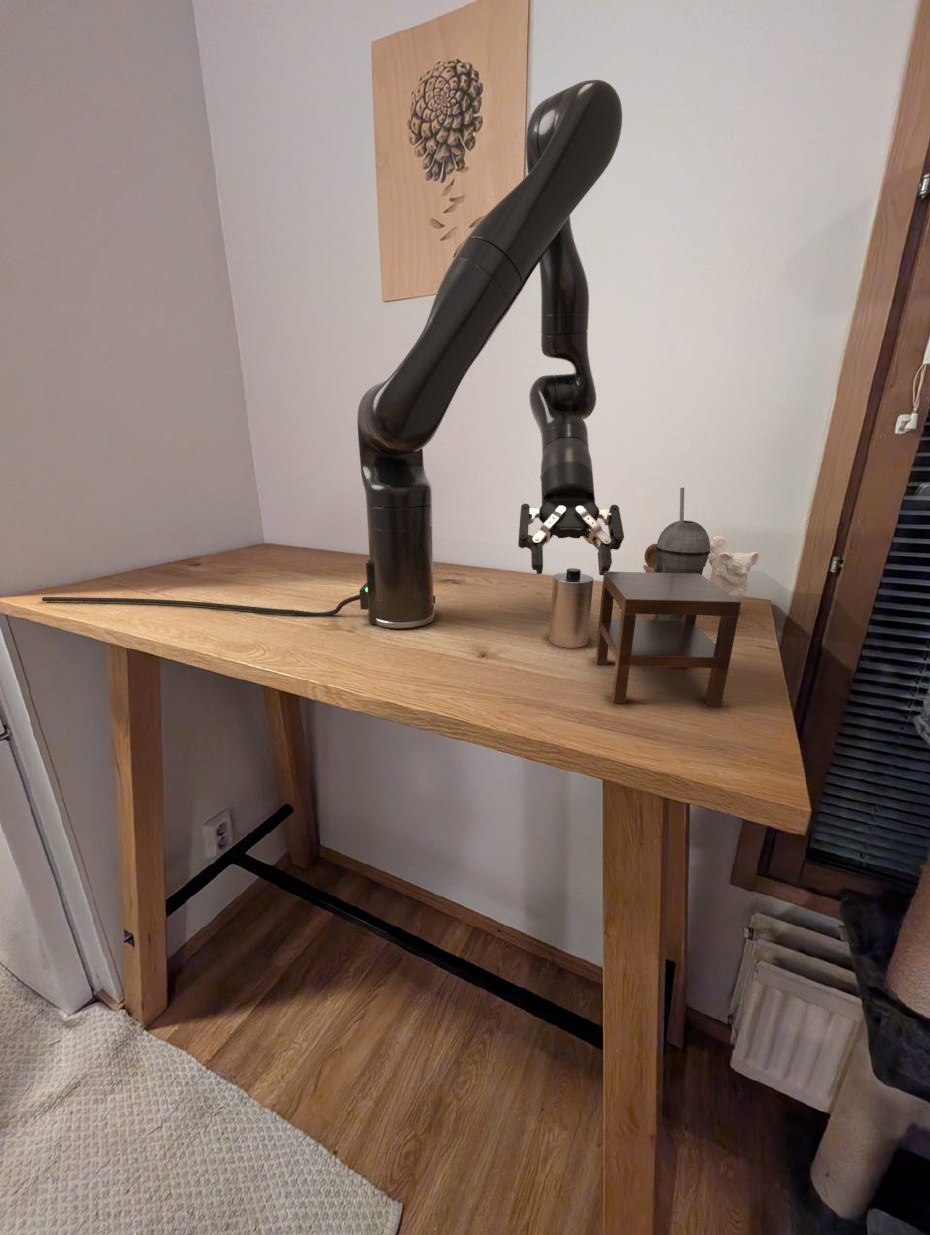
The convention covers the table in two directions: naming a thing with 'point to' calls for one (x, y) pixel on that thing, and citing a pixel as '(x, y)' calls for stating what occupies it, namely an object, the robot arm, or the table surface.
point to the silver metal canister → (570, 609)
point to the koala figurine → (730, 567)
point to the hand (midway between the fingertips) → (571, 571)
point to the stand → (665, 627)
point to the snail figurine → (650, 559)
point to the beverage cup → (681, 550)
